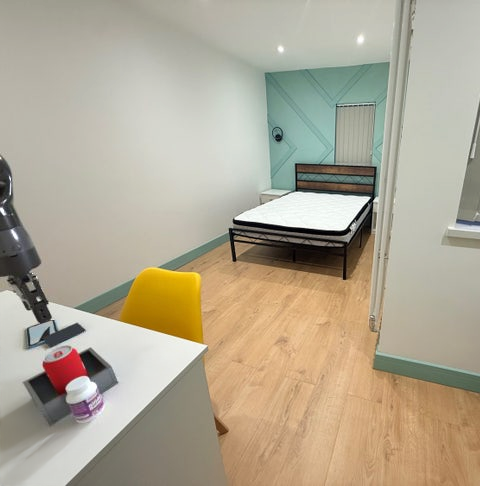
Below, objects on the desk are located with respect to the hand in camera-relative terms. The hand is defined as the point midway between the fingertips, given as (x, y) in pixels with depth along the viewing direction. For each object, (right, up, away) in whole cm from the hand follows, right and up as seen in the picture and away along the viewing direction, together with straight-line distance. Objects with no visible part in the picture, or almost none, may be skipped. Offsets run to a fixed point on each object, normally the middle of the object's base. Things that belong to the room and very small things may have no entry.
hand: (39, 314), depth 59 cm
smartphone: (-31, -15, +30) cm, 45 cm away
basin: (0, -22, +9) cm, 24 cm away
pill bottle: (+9, -25, +3) cm, 26 cm away
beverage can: (0, -22, +9) cm, 24 cm away
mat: (-22, -15, +28) cm, 39 cm away
